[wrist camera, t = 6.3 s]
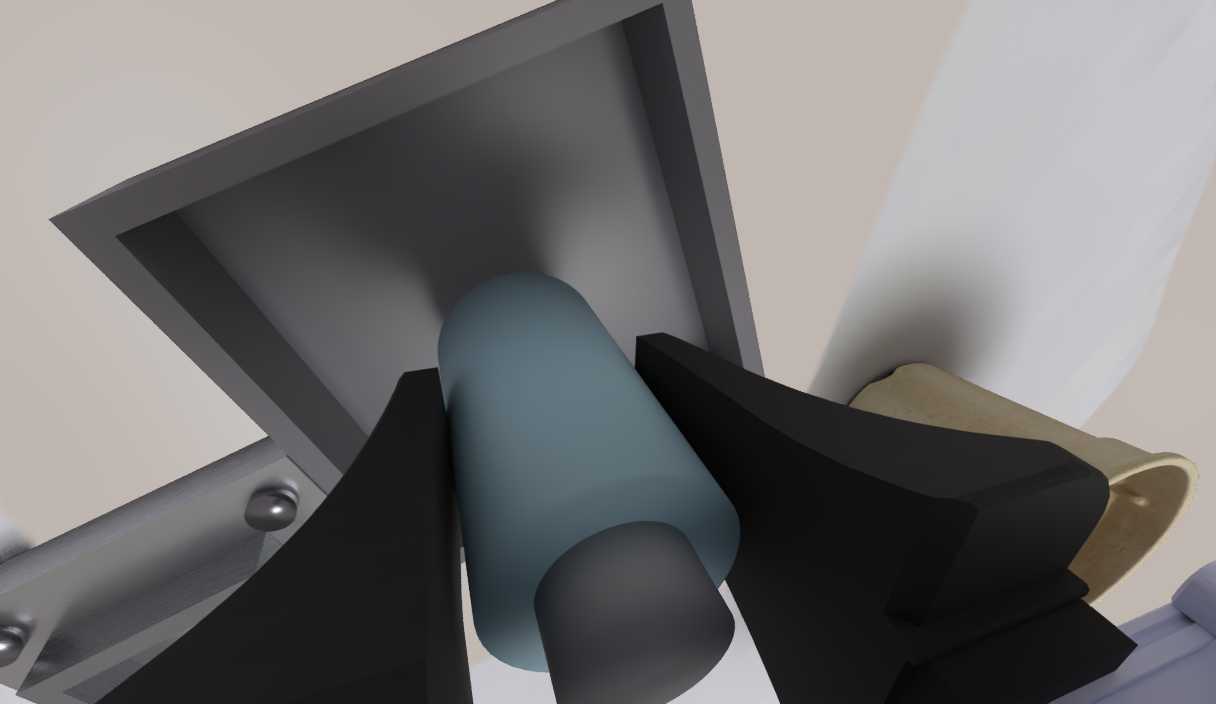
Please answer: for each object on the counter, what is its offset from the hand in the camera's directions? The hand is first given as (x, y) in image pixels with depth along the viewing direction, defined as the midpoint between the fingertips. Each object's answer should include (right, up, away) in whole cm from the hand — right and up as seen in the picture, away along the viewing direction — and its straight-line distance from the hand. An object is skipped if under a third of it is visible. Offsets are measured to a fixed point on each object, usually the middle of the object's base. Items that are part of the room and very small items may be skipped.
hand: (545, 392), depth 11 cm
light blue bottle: (-1, +1, +2) cm, 3 cm away
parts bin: (-2, +3, +4) cm, 5 cm away
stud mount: (-11, -7, +7) cm, 14 cm away
